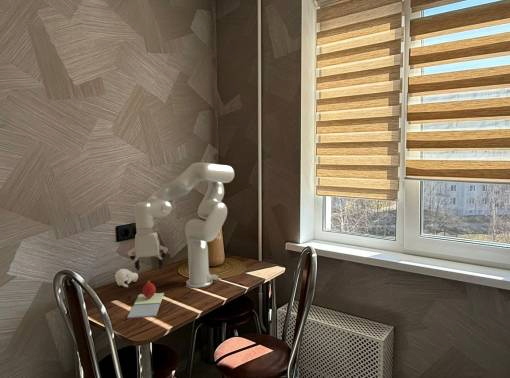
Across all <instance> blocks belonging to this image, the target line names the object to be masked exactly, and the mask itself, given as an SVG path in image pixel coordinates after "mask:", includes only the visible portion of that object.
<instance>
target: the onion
mask: <svg viewBox="0 0 510 378" xmlns="http://www.w3.org/2000/svg"><path fill="white" fill-rule="evenodd" d="M156 291H157V288H156V286H155V285H154V283H151V281H150V280H148V281H147V282H146V283H144V285H143V286H142V289H141V294H143V295H144V296H145V297H147V298H151V297H152V296H153V295H154V294H155V293H156Z"/></svg>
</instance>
